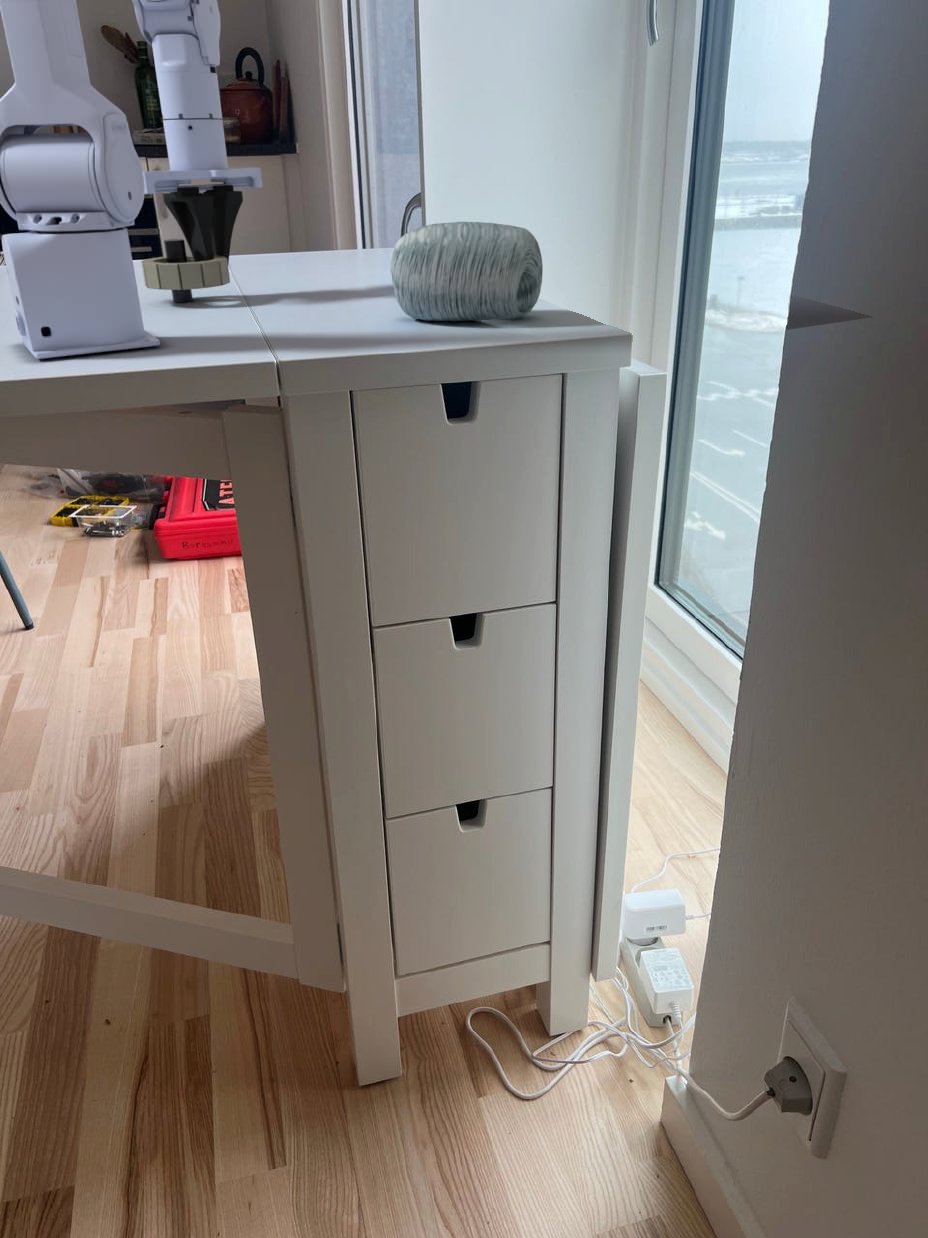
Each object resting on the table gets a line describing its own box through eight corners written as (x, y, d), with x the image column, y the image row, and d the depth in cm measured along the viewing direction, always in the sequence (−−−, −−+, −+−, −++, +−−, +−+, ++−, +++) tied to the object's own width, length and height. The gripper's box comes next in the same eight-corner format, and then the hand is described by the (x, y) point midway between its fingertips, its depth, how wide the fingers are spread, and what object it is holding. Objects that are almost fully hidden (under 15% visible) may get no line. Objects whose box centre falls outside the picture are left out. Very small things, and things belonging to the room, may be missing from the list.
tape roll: (179, 291, 90) (175, 265, 89) (128, 285, 95) (124, 261, 94) (246, 282, 96) (243, 257, 95) (195, 276, 101) (191, 253, 99)
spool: (552, 271, 87) (526, 173, 80) (555, 335, 82) (528, 235, 74) (417, 306, 91) (379, 215, 83) (411, 369, 85) (371, 278, 78)
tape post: (176, 303, 96) (166, 241, 93) (171, 300, 97) (161, 239, 95) (195, 301, 97) (186, 239, 94) (189, 298, 98) (181, 238, 95)
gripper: (155, 118, 84) (179, 276, 90) (275, 119, 94) (289, 261, 100) (110, 120, 87) (136, 271, 94) (230, 121, 98) (246, 257, 104)
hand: (212, 266), depth 97 cm, fingers closed on tape roll, 1 cm apart
